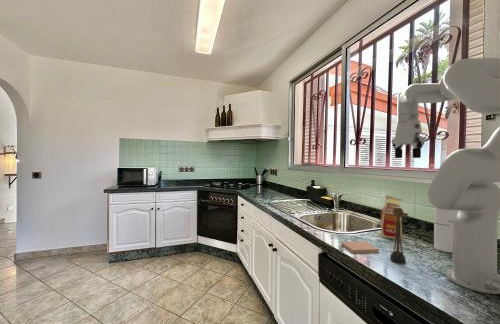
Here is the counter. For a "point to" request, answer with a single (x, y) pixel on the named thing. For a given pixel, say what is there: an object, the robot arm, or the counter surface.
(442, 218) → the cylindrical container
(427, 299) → the counter surface
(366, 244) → the tile
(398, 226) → the wooden tabletop sculpture
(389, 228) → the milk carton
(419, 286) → the counter surface
